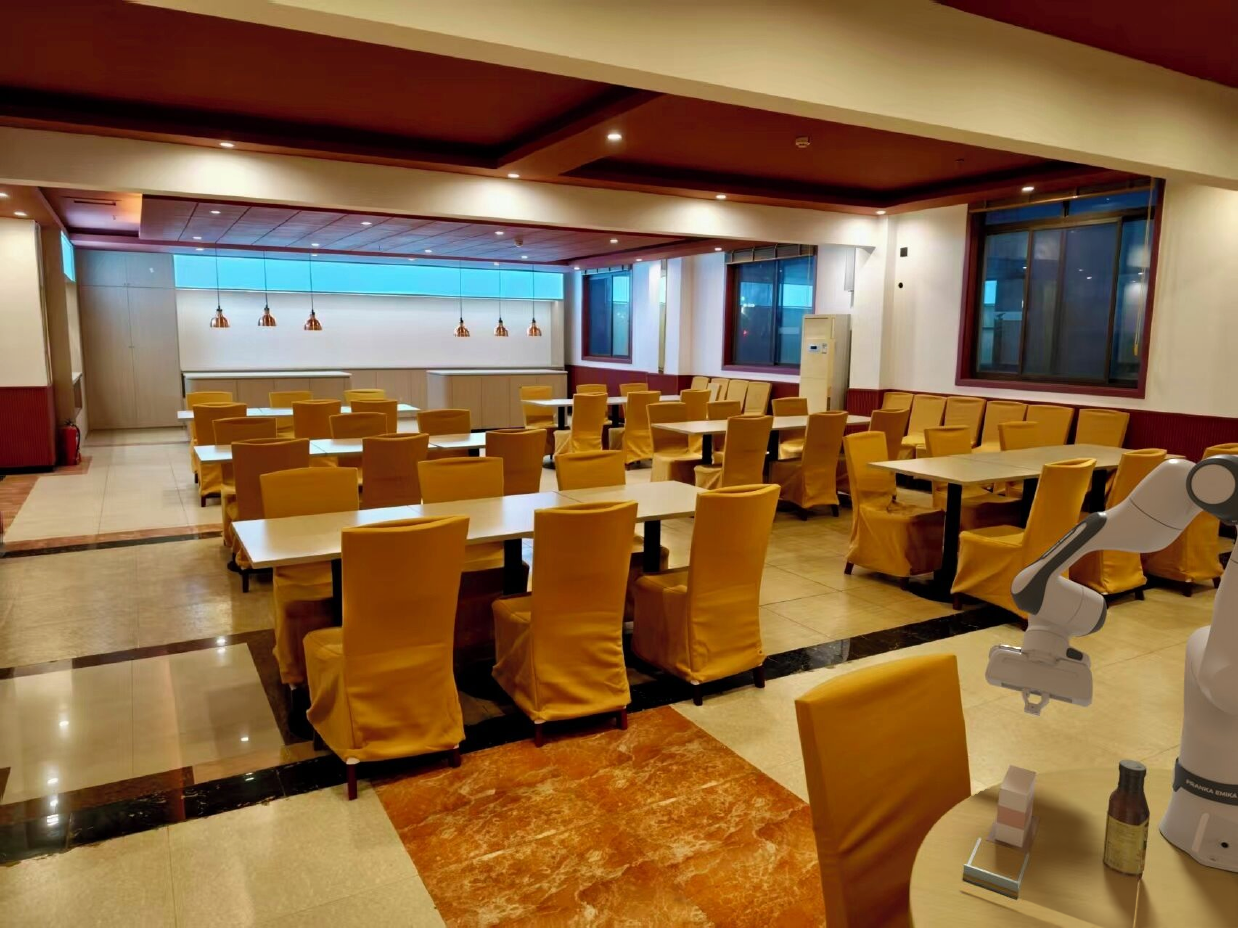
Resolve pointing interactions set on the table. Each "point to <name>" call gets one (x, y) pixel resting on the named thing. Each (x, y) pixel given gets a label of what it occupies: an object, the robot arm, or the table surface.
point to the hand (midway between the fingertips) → (1031, 713)
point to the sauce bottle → (1127, 822)
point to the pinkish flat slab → (1027, 841)
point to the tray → (993, 876)
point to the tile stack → (1015, 805)
